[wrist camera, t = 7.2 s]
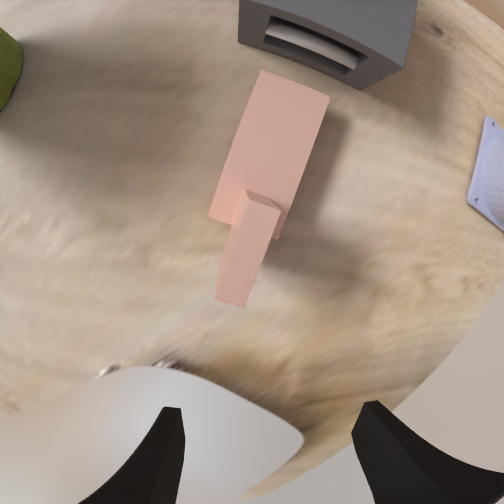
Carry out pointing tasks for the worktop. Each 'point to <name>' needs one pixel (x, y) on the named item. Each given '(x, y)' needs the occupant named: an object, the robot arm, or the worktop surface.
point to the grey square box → (332, 34)
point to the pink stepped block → (263, 176)
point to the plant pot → (8, 65)
